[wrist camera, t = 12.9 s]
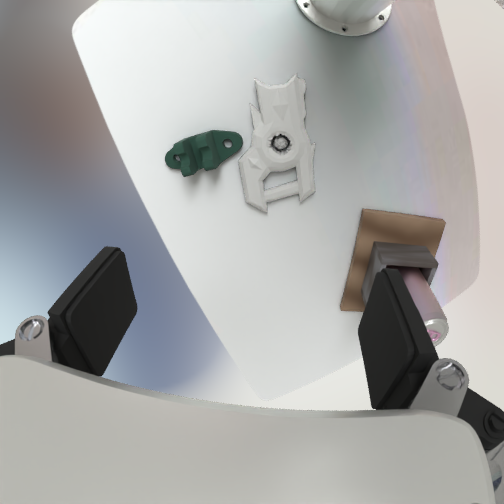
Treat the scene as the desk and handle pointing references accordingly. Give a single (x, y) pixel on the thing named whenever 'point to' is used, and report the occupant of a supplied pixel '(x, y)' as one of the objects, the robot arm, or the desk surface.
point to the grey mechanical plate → (278, 144)
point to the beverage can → (424, 302)
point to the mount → (202, 151)
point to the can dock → (390, 251)
